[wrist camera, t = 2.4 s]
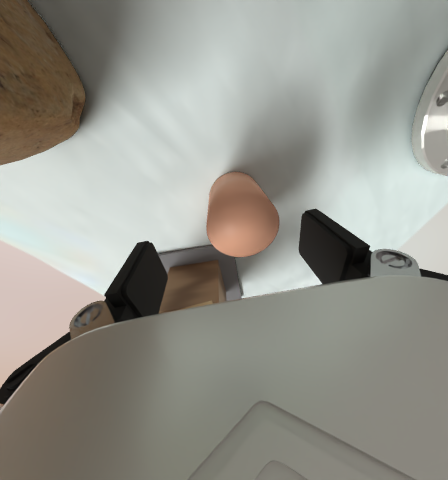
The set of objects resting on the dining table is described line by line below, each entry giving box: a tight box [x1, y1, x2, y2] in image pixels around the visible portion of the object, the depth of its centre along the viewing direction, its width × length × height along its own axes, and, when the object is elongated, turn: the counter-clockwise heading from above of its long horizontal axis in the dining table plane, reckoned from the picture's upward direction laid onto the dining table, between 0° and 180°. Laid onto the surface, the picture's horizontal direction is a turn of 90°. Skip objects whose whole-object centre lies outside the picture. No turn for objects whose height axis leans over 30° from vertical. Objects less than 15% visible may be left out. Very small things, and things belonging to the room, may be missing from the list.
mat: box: [158, 245, 242, 301], centre depth 22 cm, size 10×10×1 cm
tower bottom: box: [159, 260, 227, 314], centre depth 20 cm, size 6×6×6 cm
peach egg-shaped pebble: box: [206, 172, 279, 257], centre depth 14 cm, size 5×5×6 cm
